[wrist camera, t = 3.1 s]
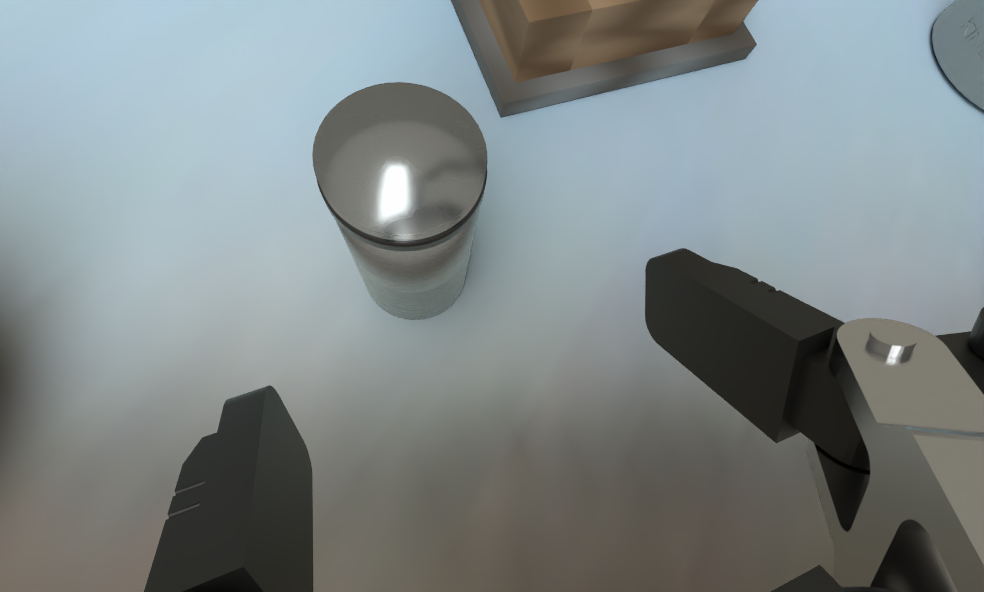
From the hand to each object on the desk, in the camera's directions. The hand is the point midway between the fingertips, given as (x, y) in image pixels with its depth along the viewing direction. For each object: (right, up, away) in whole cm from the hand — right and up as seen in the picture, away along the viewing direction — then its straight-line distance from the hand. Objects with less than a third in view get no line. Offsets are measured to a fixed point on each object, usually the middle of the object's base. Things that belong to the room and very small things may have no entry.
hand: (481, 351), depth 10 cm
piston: (-3, +2, +11) cm, 11 cm away
